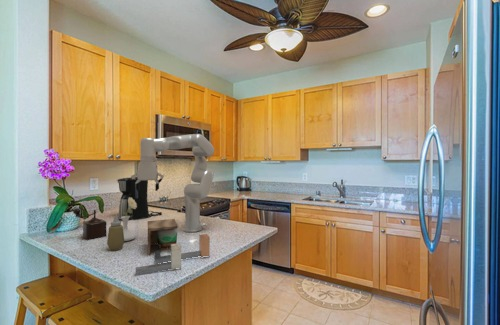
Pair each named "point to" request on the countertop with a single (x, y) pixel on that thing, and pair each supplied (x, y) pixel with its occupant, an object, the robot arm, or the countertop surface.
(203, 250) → the crook tool
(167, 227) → the walnut cubby
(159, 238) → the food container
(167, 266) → the l-shaped tool
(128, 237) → the flower in vase
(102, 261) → the countertop surface
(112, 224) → the squeeze bottle
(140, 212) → the coffee maker
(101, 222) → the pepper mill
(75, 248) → the countertop surface
